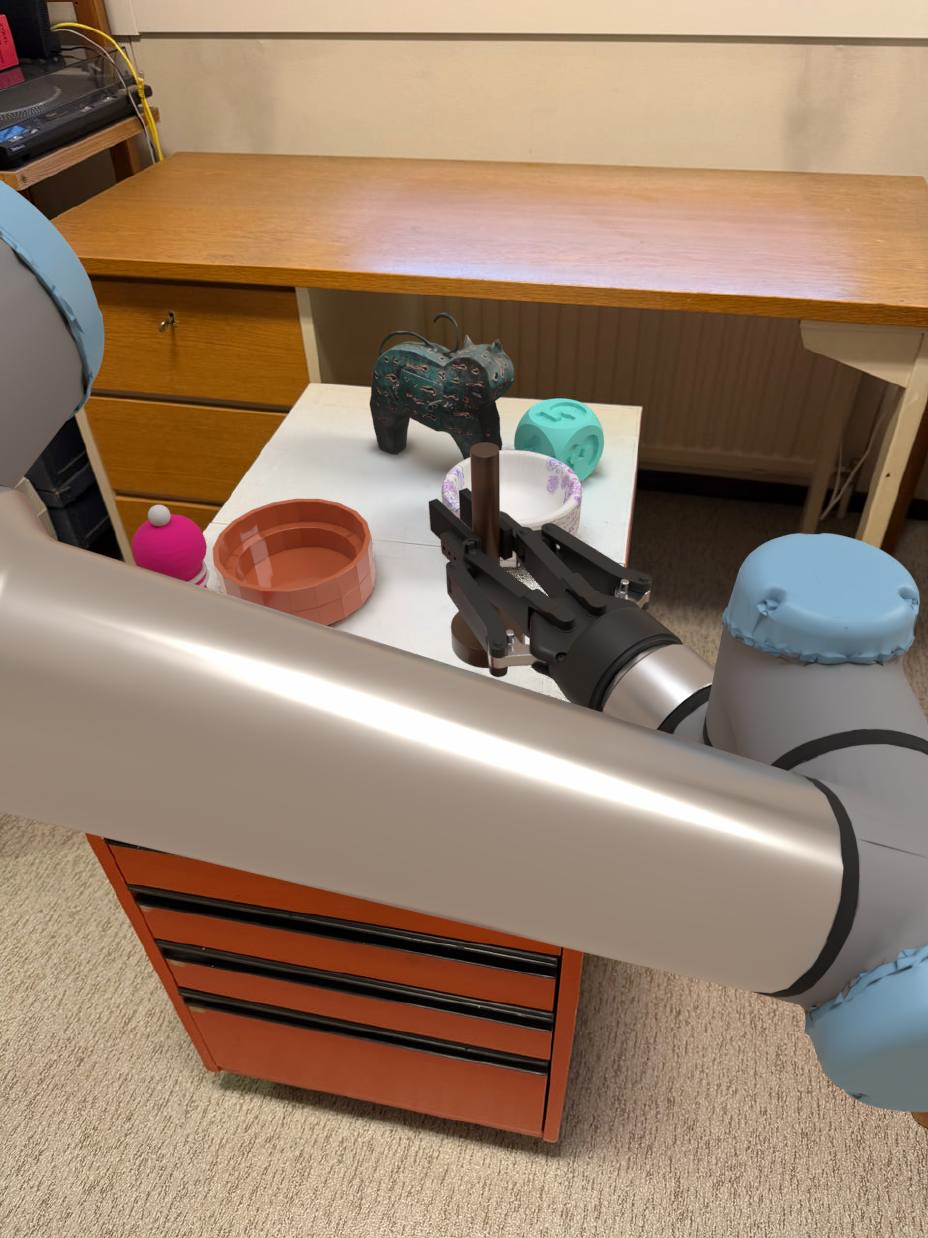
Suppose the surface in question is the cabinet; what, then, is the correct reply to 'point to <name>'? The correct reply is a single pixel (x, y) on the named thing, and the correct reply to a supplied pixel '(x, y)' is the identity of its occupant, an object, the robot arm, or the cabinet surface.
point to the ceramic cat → (439, 391)
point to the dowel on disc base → (483, 546)
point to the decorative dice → (562, 434)
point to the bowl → (298, 559)
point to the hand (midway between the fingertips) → (448, 509)
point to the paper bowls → (525, 491)
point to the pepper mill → (171, 546)
